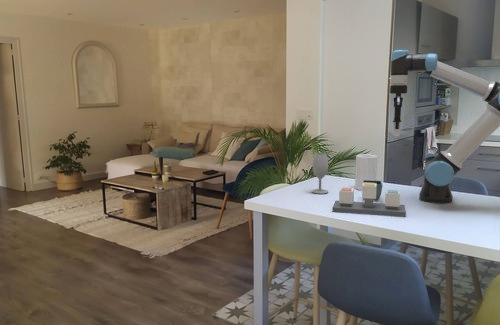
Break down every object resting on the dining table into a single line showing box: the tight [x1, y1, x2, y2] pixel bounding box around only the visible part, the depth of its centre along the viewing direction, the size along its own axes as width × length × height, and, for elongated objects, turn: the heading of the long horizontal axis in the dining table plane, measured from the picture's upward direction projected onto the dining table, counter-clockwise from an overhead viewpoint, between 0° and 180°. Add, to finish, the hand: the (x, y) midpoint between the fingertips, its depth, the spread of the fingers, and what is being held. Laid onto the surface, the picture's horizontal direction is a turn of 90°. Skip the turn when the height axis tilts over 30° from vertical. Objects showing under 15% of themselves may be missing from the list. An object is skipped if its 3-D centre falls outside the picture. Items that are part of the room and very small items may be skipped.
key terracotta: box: [338, 187, 355, 204], centre depth 196 cm, size 6×6×6 cm
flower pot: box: [363, 180, 383, 202], centre depth 212 cm, size 9×9×9 cm
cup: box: [354, 153, 378, 191], centre depth 235 cm, size 11×11×18 cm
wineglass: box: [311, 152, 329, 195], centre depth 227 cm, size 9×9×21 cm
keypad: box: [331, 198, 407, 218], centre depth 193 cm, size 31×13×7 cm, turn 73°
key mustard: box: [361, 182, 377, 199], centre depth 192 cm, size 6×6×6 cm
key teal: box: [384, 189, 401, 207], centre depth 190 cm, size 6×6×6 cm
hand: (396, 136), depth 200 cm, fingers closed
